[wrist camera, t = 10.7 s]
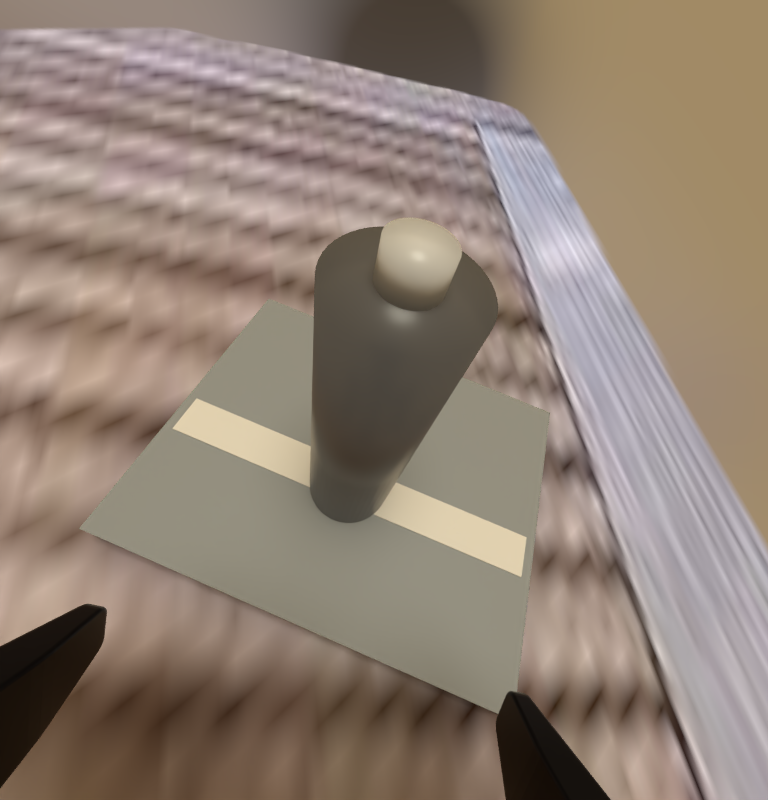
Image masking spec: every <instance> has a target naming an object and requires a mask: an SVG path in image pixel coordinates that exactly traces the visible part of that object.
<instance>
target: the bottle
mask: <svg viewBox="0 0 768 800" xmlns="http://www.w3.org/2000/svg"><path fill="white" fill-rule="evenodd" d="M497 314H498V302H497V297H496V293H495V290H494V288H493V285H492V283H491V282H490V280H489V278H488V277H487V275H486V274H485V272H484V271H483V270H482V269H481V268H480V266H479V265H478V264H477V263H476V262H475V261H474V260H472V259H471V258H470V257H469V256H468V255H467V254H465V253H464V252H462V249H461V246H460V243H459V242H458V240H457V239H456V238H455V236H454V235H453V234H451V233H450V232H449V231H448V230H446V229H445V228H443V227H442V226H440V225H438V224H436V223H433V222H431V221H427V220H424V219H418V218H400V219H396V220H393V221H391V222H389V223H388V224H387V225H386V226H385V227H370V228H364V229H359V230H356V231H353V232H350V233H347V234H345V235H343V236H341V237H339V238H338V239H336V240H334V241H333V242H332V243H331V244H330V245H328V246H327V248H326V249H325V250H324V251H323V252H322V254H321V256H320V258H319V259H318V262H317V265H316V270H315V290H314V330H313V370H312V411H311V451H310V492H311V496H312V499H313V501H314V503H315V504H316V506H317V507H318V509H319V510H320V511H321V512H322V513H323V514H325V515H326V516H328V517H329V518H331V519H333V520H336V521H339V522H344V523H353V522H359V521H362V520H365V519H367V518H369V517H370V516H372V515H373V514H374V513H375V512H376V511H377V510H378V509H379V508H380V507H381V505H382V504H383V502H384V501H385V499H386V497H387V496H388V494H389V493H390V491H391V490H392V488H393V486H394V485H395V483H396V482H397V480H398V478H399V477H400V475H401V474H402V472H403V470H404V469H405V467H406V466H407V464H408V462H409V461H410V459H411V458H412V456H413V455H414V453H415V451H416V450H417V448H418V447H419V445H420V443H421V442H422V440H423V439H424V437H425V435H426V434H427V432H428V431H429V429H430V428H431V426H432V424H433V423H434V421H435V420H436V418H437V416H438V415H439V413H440V412H441V410H442V408H443V407H444V405H445V404H446V402H447V401H448V399H449V397H450V396H451V394H452V393H453V391H454V389H455V388H456V386H457V385H458V383H459V381H460V380H461V378H462V377H463V375H464V373H465V372H466V370H467V369H468V367H469V366H470V364H471V362H472V361H473V359H474V358H475V356H476V354H477V353H478V351H479V350H480V348H481V346H482V345H483V343H484V342H485V340H486V339H487V337H488V335H489V334H490V332H491V330H492V329H493V327H494V325H495V322H496V319H497Z"/></svg>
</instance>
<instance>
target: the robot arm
mask: <svg viewBox="0 0 768 800" xmlns="http://www.w3.org/2000/svg"><path fill="white" fill-rule="evenodd" d="M106 616H107V610H106V608H105V607H102V606H97V605H92V604H84V605H82V606H79V607H77V608H75V609H73V610H71V611H69V612H67V613H65V614H64V615H62V616H60V617H58V618H56V619H54V620H52V621H50V622H48V623H46V624H44V625H42V626H40V627H38V628H36V629H34V630H32V631H30V632H28V633H26V634H24V635H22V636H20V637H18V638H16V639H14V640H12V641H10V642H8V643H6V644H4V645H2V646H0V788H1V787H2V785H3V784H4V783H5V782H6V780H7V779H8V778H9V777H10V775H11V774H12V773H13V771H14V770H15V769H16V768H17V766H18V765H19V764H20V763H21V761H22V760H23V759H24V757H25V756H26V755H27V754H28V752H29V751H30V750H31V748H32V747H33V746H34V744H35V743H36V742H37V741H38V739H39V738H40V736H41V735H42V734H43V732H44V731H45V729H46V728H47V726H48V725H49V724H50V722H51V721H52V719H53V718H54V716H55V715H56V713H57V712H58V710H59V709H60V707H61V706H62V704H63V703H64V701H65V700H66V698H67V697H68V696H69V694H70V693H71V691H72V690H73V688H74V687H75V685H76V684H77V682H78V681H79V679H80V678H81V676H82V675H83V673H84V672H85V670H86V669H87V667H88V666H89V664H90V663H91V661H92V660H93V658H94V657H95V655H96V654H97V652H98V651H99V649H100V647H101V645H102V643H103V640H104V635H105V625H106ZM496 733H497V740H498V747H499V754H500V761H501V768H502V775H503V783H504V790H505V797H506V800H611V799H610V798H609V797H608V796H607V794H606V793H605V792H604V791H603V789H602V788H601V787H600V785H599V784H598V783H597V782H596V780H595V779H594V778H593V777H592V775H591V774H590V773H589V772H588V770H587V769H586V768H585V767H584V765H583V764H582V763H581V761H580V760H579V759H578V758H577V756H576V755H575V754H574V753H573V751H572V750H571V749H570V748H569V746H568V745H567V744H566V743H565V741H564V740H563V739H562V737H561V736H560V735H559V734H558V732H557V731H556V730H555V729H554V727H553V726H552V725H551V724H550V722H549V721H548V720H547V719H546V717H545V716H544V715H543V713H542V712H541V711H540V710H539V708H538V707H537V706H536V705H535V703H534V702H533V701H532V700H531V698H530V697H529V696H528V695H526V694H524V693H520V692H515V691H509V692H508V693H507V694H506V696H505V699H504V701H503V703H502V706H501V708H500V711H499V713H498V716H497V720H496Z"/></svg>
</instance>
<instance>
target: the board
mask: <svg viewBox="0 0 768 800" xmlns="http://www.w3.org/2000/svg"><path fill="white" fill-rule="evenodd" d="M313 330H314V317H313V316H310V315H308V314H305V313H303V312H300V311H298V310H295V309H293V308H290V307H288V306H286V305H283V304H281V303H278V302H276V301H273V300H271V299H268V300H267V302H266V303H265V304H264V305H263V306H262V308H261V309H260V310H259V311H258V312H257V314H256V315H255V316H254V317H253V318H252V320H251V321H250V322H249V323H248V325H247V326H246V327H245V328H244V329H243V331H242V332H241V333H240V334H239V335H238V337H237V338H236V339H235V340H234V342H233V343H232V344H231V345H230V346H229V348H228V349H227V350H226V351H225V352H224V354H223V355H222V356H221V357H220V359H219V360H218V361H217V362H216V363H215V365H214V366H213V367H212V368H211V369H210V371H209V372H208V373H207V374H206V375H205V377H204V378H203V379H202V380H201V382H200V383H199V384H198V385H197V386H196V388H195V389H194V390H193V391H192V392H191V394H190V395H189V396H188V397H187V399H186V400H185V401H184V402H183V403H182V405H181V406H180V407H179V408H178V409H177V411H176V412H175V413H174V414H173V415H172V417H171V418H170V419H169V420H168V422H167V423H166V424H165V425H164V426H163V428H162V429H161V430H160V431H159V432H158V434H157V435H156V436H155V437H154V439H153V440H152V441H151V442H150V443H149V445H148V446H147V447H146V448H145V449H144V451H143V452H142V453H141V454H140V455H139V457H138V458H137V459H136V460H135V462H134V463H133V464H132V465H131V466H130V468H129V469H128V470H127V471H126V472H125V474H124V475H123V476H122V477H121V479H120V480H119V481H118V482H117V483H116V485H115V486H114V487H113V488H112V489H111V491H110V492H109V493H108V494H107V496H106V497H105V498H104V499H103V500H102V502H101V503H100V504H99V505H98V506H97V508H96V509H95V510H94V511H93V512H92V514H91V515H90V516H89V517H88V519H87V520H86V521H85V522H84V523H83V525H82V526H81V527H80V528H79V529H81V530H84V531H86V532H88V533H90V534H93V535H95V536H97V537H99V538H102V539H104V540H106V541H108V542H111V543H113V544H115V545H117V546H120V547H122V548H124V549H126V550H129V551H131V552H133V553H135V554H138V555H140V556H142V557H144V558H147V559H149V560H151V561H154V562H156V563H158V564H160V565H163V566H165V567H167V568H169V569H172V570H174V571H176V572H178V573H181V574H183V575H185V576H187V577H190V578H192V579H194V580H196V581H199V582H201V583H203V584H205V585H208V586H210V587H212V588H215V589H217V590H219V591H221V592H224V593H226V594H228V595H230V596H233V597H235V598H237V599H239V600H242V601H244V602H246V603H248V604H251V605H253V606H255V607H257V608H260V609H262V610H264V611H266V612H269V613H271V614H273V615H276V616H278V617H280V618H282V619H285V620H287V621H289V622H291V623H294V624H296V625H298V626H300V627H303V628H305V629H307V630H309V631H312V632H314V633H316V634H318V635H321V636H323V637H325V638H327V639H330V640H332V641H334V642H337V643H339V644H341V645H343V646H346V647H348V648H350V649H352V650H355V651H357V652H359V653H361V654H364V655H366V656H368V657H370V658H373V659H375V660H377V661H379V662H382V663H384V664H386V665H388V666H391V667H393V668H395V669H397V670H400V671H402V672H404V673H407V674H409V675H411V676H413V677H416V678H418V679H420V680H422V681H425V682H427V683H429V684H431V685H434V686H436V687H438V688H440V689H443V690H445V691H447V692H449V693H452V694H454V695H456V696H458V697H461V698H463V699H465V700H468V701H470V702H472V703H474V704H477V705H479V706H481V707H483V708H486V709H488V710H490V711H492V712H495V713H497V714H498V713H499V711H500V708H501V706H502V703H503V701H504V699H505V696H506V694H507V693H508V692H509V691H515V692H517V686H518V678H519V669H520V661H521V653H522V644H523V636H524V627H525V619H526V610H527V602H528V593H529V585H530V577H531V568H532V560H533V551H534V543H535V534H536V526H537V517H538V509H539V501H540V492H541V484H542V475H543V467H544V458H545V450H546V441H547V433H548V425H549V416H550V413H549V412H547V411H544V410H542V409H539V408H537V407H534V406H532V405H529V404H527V403H524V402H522V401H520V400H517V399H515V398H512V397H510V396H507V395H505V394H502V393H500V392H497V391H495V390H492V389H490V388H488V387H485V386H483V385H480V384H478V383H475V382H473V381H470V380H468V379H465V378H463V377H462V378H461V380H460V381H459V383H458V385H457V386H456V388H455V389H454V391H453V393H452V394H451V396H450V397H449V399H448V401H447V402H446V404H445V405H444V407H443V408H442V410H441V412H440V413H439V415H438V416H437V418H436V420H435V421H434V423H433V424H432V426H431V428H430V429H429V431H428V432H427V434H426V435H425V437H424V439H423V440H422V442H421V443H420V445H419V447H418V448H417V450H416V451H415V453H414V455H413V456H412V458H411V459H410V461H409V462H408V464H407V466H406V467H405V469H404V470H403V472H402V474H401V475H400V477H399V478H398V480H397V482H396V483H395V485H394V486H393V488H392V490H391V491H390V493H389V494H388V496H387V497H386V499H385V501H384V502H383V504H382V505H381V507H380V508H379V509H378V510H377V511H376V512H375V513H374V514H373V515H372V516H370V517H369V518H367V519H365V520H362V521H359V522H353V523H344V522H339V521H336V520H333V519H331V518H329V517H328V516H326V515H325V514H323V513H322V512H321V511H320V510H319V509H318V507H317V506H316V504H315V503H314V501H313V499H312V496H311V492H310V451H311V411H312V370H313Z"/></svg>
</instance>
